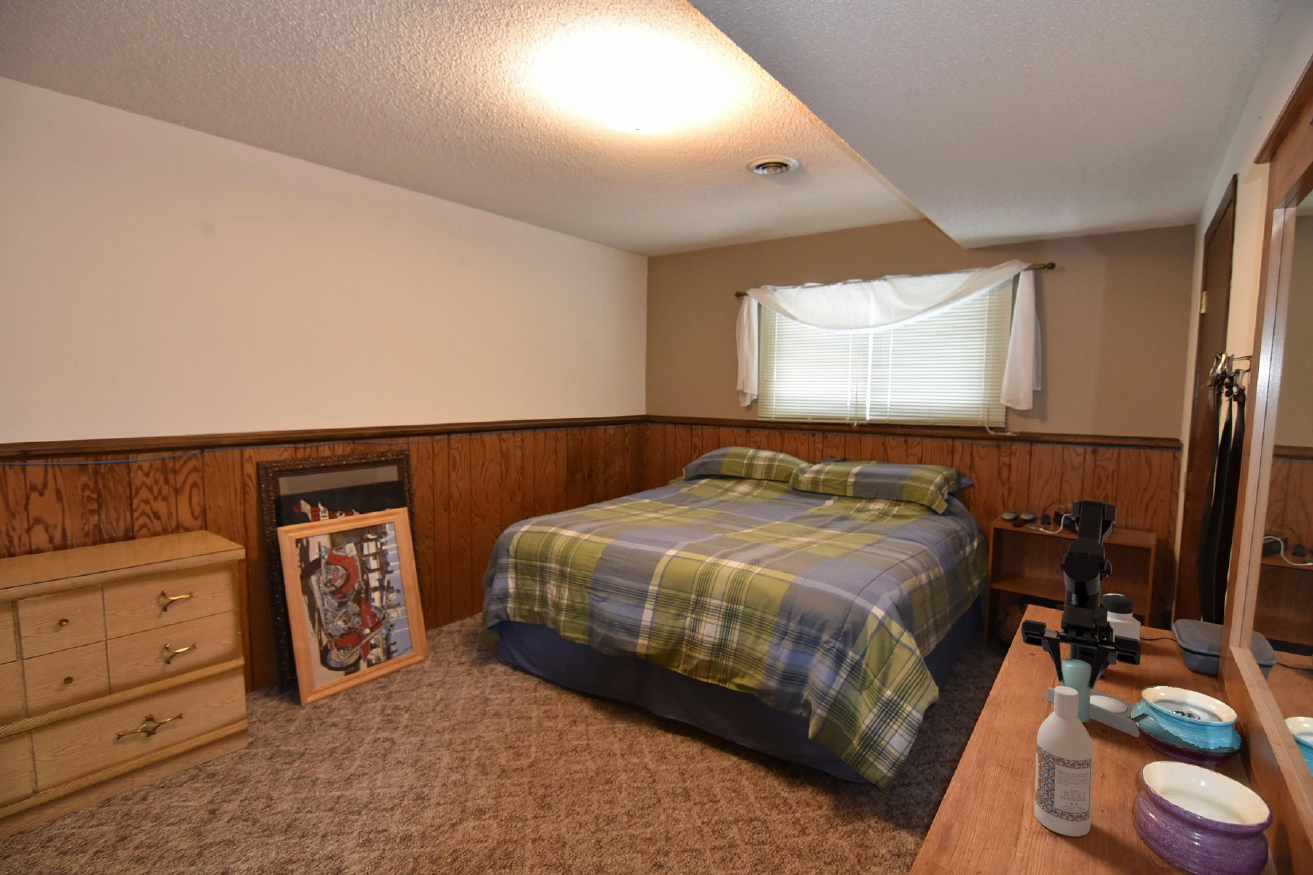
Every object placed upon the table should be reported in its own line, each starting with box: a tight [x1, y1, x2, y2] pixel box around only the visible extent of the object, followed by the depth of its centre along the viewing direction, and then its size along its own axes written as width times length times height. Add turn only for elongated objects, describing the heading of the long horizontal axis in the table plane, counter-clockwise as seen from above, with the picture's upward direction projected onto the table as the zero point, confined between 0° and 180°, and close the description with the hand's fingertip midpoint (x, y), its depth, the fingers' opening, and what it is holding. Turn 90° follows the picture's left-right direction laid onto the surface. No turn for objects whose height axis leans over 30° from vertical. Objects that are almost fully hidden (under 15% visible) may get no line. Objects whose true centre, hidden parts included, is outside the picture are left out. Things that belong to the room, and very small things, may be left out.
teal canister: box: [1061, 658, 1092, 723], centre depth 120 cm, size 4×4×10 cm
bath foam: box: [1034, 685, 1094, 837], centre depth 94 cm, size 7×7×20 cm
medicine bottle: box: [1101, 593, 1142, 642], centre depth 155 cm, size 7×7×12 cm
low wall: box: [1046, 686, 1141, 738], centre depth 123 cm, size 16×1×2 cm, turn 29°
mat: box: [1090, 689, 1136, 719], centre depth 126 cm, size 9×9×1 cm
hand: (1075, 684), depth 119 cm, fingers closed on teal canister, 4 cm apart
